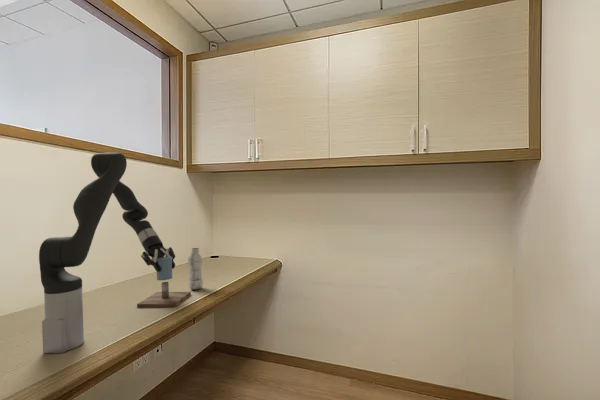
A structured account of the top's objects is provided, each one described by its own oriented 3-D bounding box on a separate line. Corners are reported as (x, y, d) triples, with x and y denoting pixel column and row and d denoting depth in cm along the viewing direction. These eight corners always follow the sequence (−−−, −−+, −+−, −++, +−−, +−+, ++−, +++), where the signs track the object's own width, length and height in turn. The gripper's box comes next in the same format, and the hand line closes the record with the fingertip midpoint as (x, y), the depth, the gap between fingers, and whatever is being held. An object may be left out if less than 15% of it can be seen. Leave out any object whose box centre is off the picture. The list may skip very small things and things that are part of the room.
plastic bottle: (198, 291, 147) (197, 249, 147) (186, 290, 148) (184, 249, 148) (205, 287, 153) (204, 247, 153) (193, 287, 154) (192, 247, 154)
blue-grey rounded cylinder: (168, 280, 131) (167, 259, 131) (154, 280, 131) (153, 259, 131) (174, 276, 137) (174, 256, 137) (161, 276, 137) (160, 256, 137)
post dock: (175, 307, 126) (174, 287, 126) (137, 307, 126) (136, 288, 126) (190, 294, 142) (190, 277, 142) (156, 295, 142) (156, 278, 142)
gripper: (137, 236, 132) (154, 267, 126) (167, 233, 144) (184, 260, 138) (131, 248, 135) (147, 278, 128) (161, 243, 147) (177, 271, 141)
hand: (166, 269), depth 133 cm, fingers closed on blue-grey rounded cylinder, 6 cm apart
